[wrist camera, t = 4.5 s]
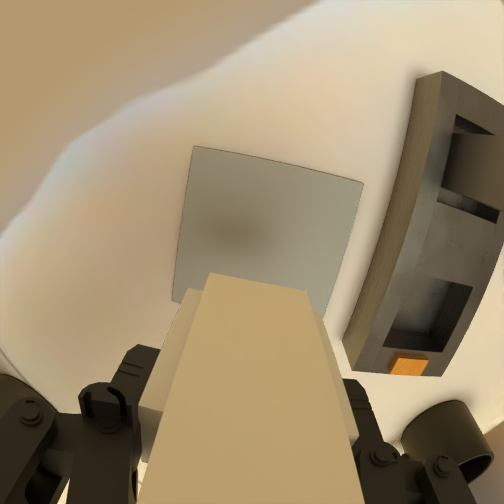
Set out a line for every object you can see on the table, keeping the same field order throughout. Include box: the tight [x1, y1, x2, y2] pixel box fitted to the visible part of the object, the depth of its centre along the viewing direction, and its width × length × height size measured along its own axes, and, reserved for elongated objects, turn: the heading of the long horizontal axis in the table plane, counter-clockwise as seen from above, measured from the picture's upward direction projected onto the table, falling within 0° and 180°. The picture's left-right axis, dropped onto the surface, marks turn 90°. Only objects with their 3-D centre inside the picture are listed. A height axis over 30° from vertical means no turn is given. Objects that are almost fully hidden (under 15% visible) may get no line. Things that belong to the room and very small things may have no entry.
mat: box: [172, 146, 364, 319], centre depth 23 cm, size 12×12×1 cm
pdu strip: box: [342, 71, 504, 377], centre depth 20 cm, size 22×9×5 cm, turn 168°
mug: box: [401, 401, 494, 485], centre depth 26 cm, size 9×12×9 cm
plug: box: [136, 272, 365, 504], centre depth 8 cm, size 4×4×12 cm
